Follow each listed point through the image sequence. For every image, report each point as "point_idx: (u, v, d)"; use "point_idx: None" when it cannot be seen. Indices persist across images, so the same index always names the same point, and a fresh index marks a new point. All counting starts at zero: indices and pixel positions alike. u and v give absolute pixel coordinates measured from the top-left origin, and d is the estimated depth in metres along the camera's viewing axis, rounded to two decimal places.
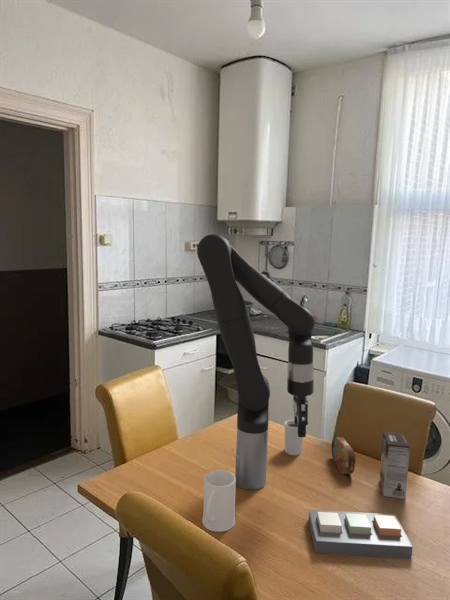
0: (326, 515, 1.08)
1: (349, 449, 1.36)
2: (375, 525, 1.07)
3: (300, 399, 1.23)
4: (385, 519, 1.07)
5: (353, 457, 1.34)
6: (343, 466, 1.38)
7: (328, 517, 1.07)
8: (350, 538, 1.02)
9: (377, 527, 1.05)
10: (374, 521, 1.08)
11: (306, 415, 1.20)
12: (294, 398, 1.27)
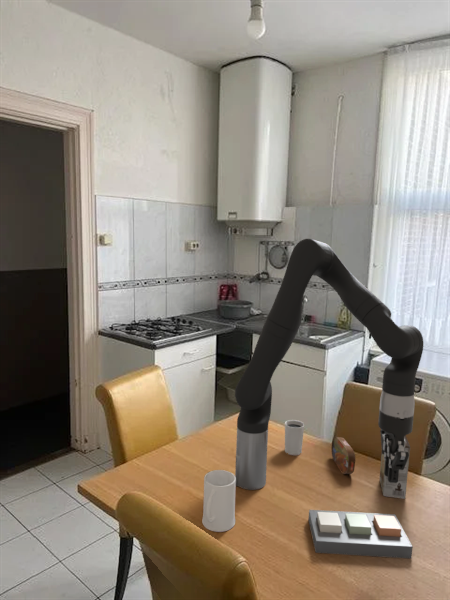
0: (326, 515, 1.08)
1: (349, 449, 1.36)
2: (375, 525, 1.07)
3: (398, 438, 0.99)
4: (385, 519, 1.07)
5: (353, 457, 1.34)
6: (343, 466, 1.38)
7: (328, 517, 1.07)
8: (350, 538, 1.02)
9: (377, 527, 1.05)
10: (374, 521, 1.08)
11: (404, 463, 0.98)
12: (386, 434, 1.04)
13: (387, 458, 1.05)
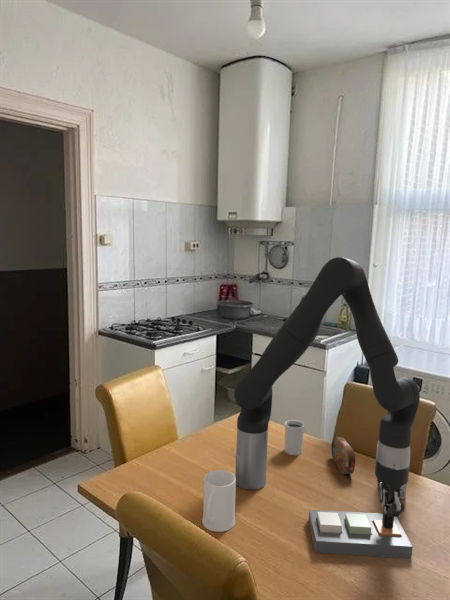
0: (326, 515, 1.08)
1: (349, 449, 1.36)
2: None
3: (394, 489, 1.01)
4: None
5: (353, 457, 1.34)
6: (343, 466, 1.38)
7: (328, 517, 1.07)
8: (350, 538, 1.02)
9: (377, 532, 1.06)
10: (374, 526, 1.08)
11: (399, 513, 1.01)
12: (382, 482, 1.06)
13: None
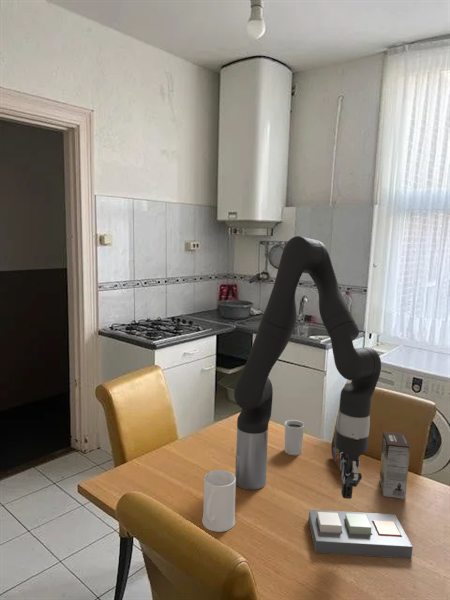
0: (326, 515, 1.08)
1: None
2: None
3: (353, 458, 1.01)
4: (385, 525, 1.07)
5: None
6: None
7: (328, 517, 1.07)
8: (350, 538, 1.02)
9: (377, 532, 1.06)
10: None
11: (357, 482, 1.01)
12: (342, 453, 1.06)
13: None
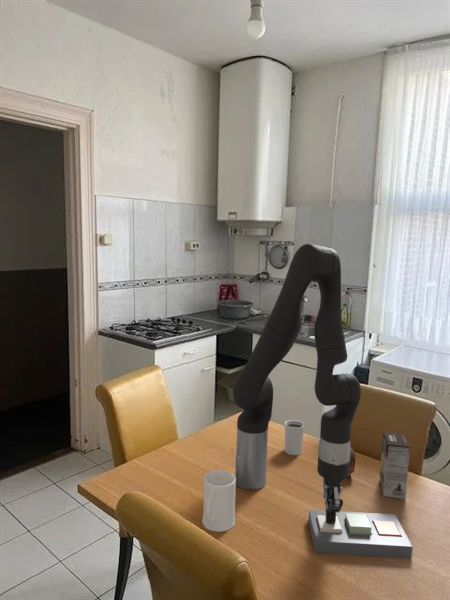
0: None
1: None
2: None
3: (334, 484, 1.02)
4: (385, 525, 1.07)
5: (353, 457, 1.34)
6: None
7: None
8: (350, 538, 1.02)
9: (377, 532, 1.06)
10: None
11: (339, 508, 1.02)
12: (325, 478, 1.07)
13: None
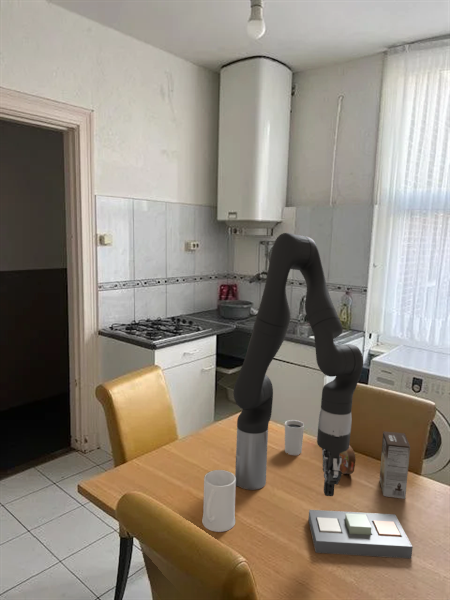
0: (326, 521, 1.08)
1: (349, 449, 1.36)
2: None
3: (333, 456, 1.00)
4: (385, 525, 1.07)
5: (353, 457, 1.34)
6: (343, 466, 1.38)
7: (328, 523, 1.07)
8: (350, 538, 1.02)
9: (377, 532, 1.06)
10: None
11: (337, 480, 1.00)
12: (324, 450, 1.06)
13: None
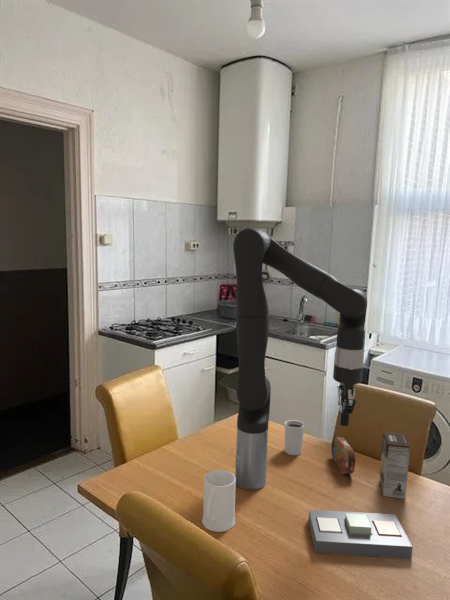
0: (326, 521, 1.08)
1: (349, 449, 1.36)
2: None
3: (348, 387, 1.14)
4: (385, 525, 1.07)
5: (353, 457, 1.34)
6: (343, 466, 1.38)
7: (328, 523, 1.07)
8: (350, 538, 1.02)
9: (377, 532, 1.06)
10: None
11: (352, 408, 1.14)
12: (339, 385, 1.19)
13: None
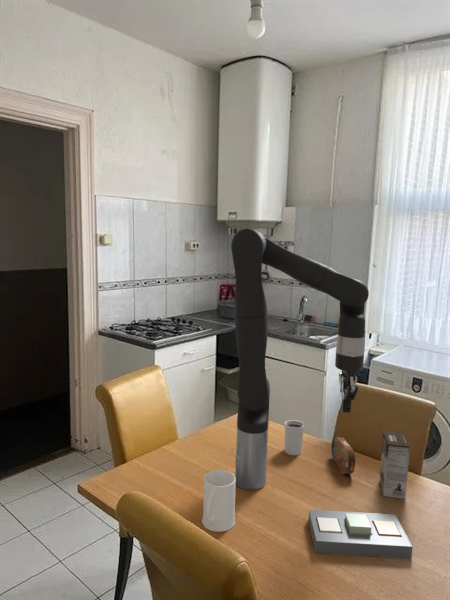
0: (326, 521, 1.08)
1: (349, 449, 1.36)
2: None
3: (350, 374, 1.17)
4: (385, 525, 1.07)
5: (353, 457, 1.34)
6: (343, 466, 1.38)
7: (328, 523, 1.07)
8: (350, 538, 1.02)
9: (377, 532, 1.06)
10: None
11: (354, 395, 1.17)
12: (341, 373, 1.22)
13: None
